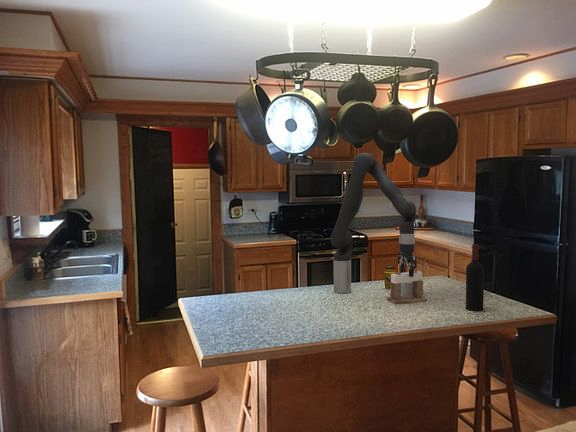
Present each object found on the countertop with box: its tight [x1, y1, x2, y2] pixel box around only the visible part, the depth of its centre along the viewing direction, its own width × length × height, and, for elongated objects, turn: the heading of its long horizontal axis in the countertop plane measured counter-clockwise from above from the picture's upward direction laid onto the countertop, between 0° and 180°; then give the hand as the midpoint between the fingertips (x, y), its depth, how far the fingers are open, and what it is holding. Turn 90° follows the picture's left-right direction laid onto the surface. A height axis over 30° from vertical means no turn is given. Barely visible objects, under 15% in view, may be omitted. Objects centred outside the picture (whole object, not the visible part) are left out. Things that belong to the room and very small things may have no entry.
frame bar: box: [391, 270, 423, 284], centre depth 237 cm, size 16×4×4 cm, turn 113°
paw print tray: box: [401, 282, 412, 295], centre depth 252 cm, size 10×13×9 cm
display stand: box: [386, 279, 428, 305], centre depth 238 cm, size 10×17×10 cm, turn 106°
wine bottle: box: [465, 243, 485, 312], centre depth 219 cm, size 8×8×30 cm
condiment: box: [380, 265, 397, 290], centre depth 263 cm, size 7×8×12 cm
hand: (406, 275), depth 237 cm, fingers open, 8 cm apart
